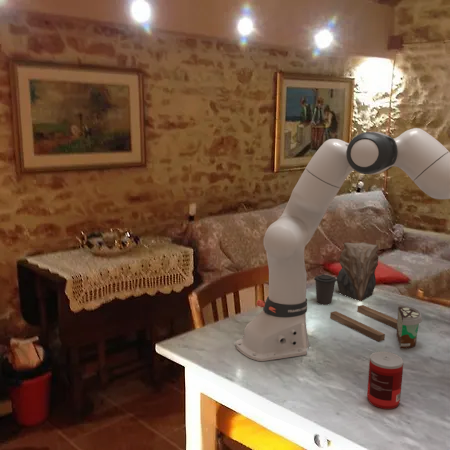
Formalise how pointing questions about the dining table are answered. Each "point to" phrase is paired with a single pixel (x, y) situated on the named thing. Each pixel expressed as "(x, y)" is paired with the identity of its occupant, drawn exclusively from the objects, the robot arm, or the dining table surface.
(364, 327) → the walnut bay
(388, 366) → the canned food
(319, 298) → the coffee cup
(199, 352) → the dining table surface
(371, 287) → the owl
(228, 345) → the dining table surface
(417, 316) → the food container
